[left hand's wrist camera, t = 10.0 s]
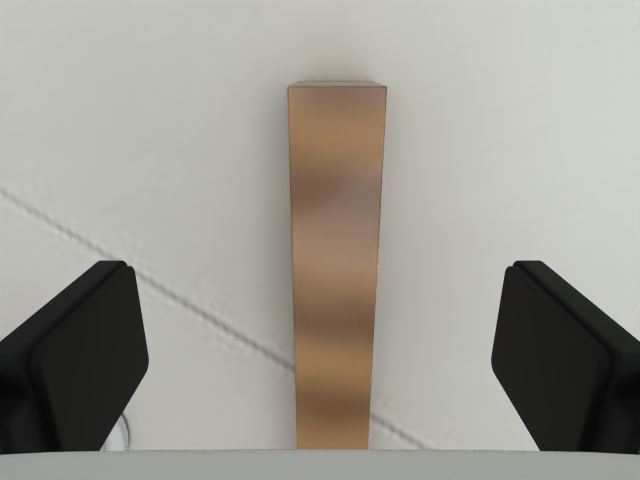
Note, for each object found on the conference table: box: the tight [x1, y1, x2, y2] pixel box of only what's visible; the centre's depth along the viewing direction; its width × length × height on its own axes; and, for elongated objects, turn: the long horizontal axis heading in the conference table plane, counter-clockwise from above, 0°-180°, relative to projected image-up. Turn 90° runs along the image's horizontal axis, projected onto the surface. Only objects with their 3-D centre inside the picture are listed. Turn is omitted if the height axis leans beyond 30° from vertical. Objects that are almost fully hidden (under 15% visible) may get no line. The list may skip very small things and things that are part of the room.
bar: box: [288, 81, 387, 450], centre depth 34 cm, size 55×5×6 cm, turn 0°
